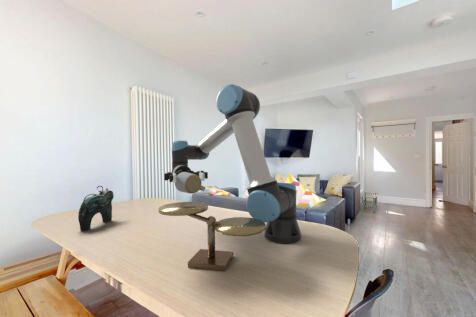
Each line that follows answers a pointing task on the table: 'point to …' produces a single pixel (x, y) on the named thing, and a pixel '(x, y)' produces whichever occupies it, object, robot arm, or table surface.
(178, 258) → the table surface
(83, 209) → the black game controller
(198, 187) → the ceramic mug
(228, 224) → the balance
